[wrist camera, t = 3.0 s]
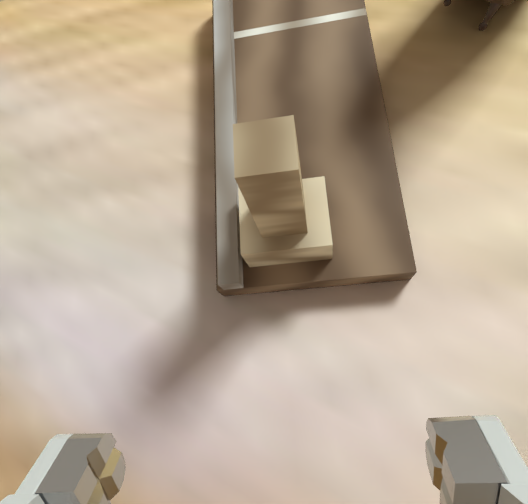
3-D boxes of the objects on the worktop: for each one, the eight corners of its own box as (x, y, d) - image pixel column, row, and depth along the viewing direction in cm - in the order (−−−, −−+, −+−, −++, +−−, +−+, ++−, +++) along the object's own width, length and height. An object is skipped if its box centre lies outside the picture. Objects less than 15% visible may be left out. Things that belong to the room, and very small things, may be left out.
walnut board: (355, -15, 38) (358, -53, 34) (410, 279, 28) (421, 265, 25) (217, 11, 39) (207, -23, 36) (223, 296, 30) (210, 285, 26)
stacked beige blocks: (324, 196, 29) (322, 93, 18) (332, 259, 27) (334, 184, 17) (246, 205, 30) (202, 111, 19) (249, 267, 28) (203, 201, 18)
